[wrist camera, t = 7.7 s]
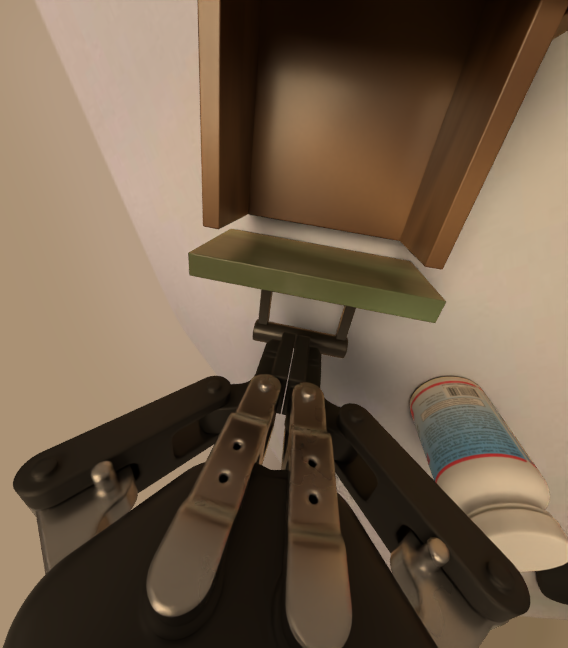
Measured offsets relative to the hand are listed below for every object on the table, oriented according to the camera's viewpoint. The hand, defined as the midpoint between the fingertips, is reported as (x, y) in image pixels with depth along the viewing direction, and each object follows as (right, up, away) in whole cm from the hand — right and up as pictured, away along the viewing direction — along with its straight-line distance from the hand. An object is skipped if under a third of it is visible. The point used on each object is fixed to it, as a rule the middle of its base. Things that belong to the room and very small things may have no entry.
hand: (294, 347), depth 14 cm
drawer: (+2, +10, +1) cm, 10 cm away
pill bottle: (+14, -5, +9) cm, 18 cm away
